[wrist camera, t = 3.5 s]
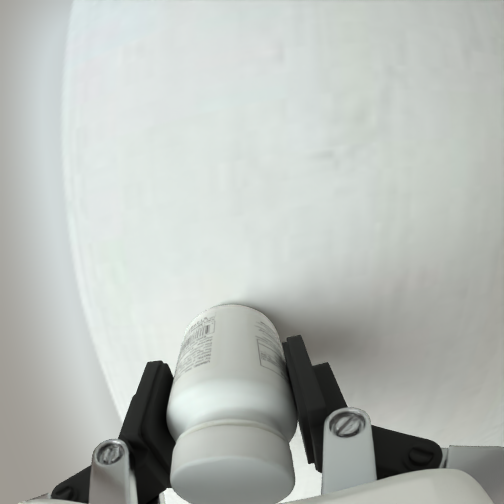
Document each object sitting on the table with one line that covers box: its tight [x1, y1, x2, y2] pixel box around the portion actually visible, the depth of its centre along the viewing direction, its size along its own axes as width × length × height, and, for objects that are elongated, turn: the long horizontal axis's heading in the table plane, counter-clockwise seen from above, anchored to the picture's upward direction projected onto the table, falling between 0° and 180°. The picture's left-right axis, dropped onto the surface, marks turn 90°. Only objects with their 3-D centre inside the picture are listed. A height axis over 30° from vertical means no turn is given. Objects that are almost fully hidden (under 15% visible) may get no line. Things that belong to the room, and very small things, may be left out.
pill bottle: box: [166, 304, 298, 504], centre depth 10 cm, size 4×4×8 cm
